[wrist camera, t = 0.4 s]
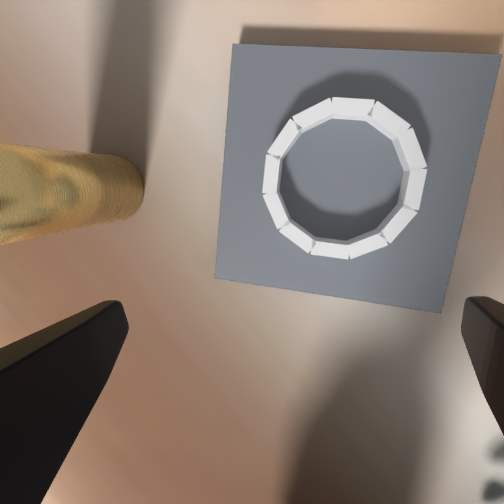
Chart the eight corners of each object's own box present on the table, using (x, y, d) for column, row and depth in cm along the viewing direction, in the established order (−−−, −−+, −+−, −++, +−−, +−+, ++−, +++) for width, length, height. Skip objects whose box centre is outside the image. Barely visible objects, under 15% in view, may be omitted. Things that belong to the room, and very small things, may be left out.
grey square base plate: (434, 306, 22) (450, 323, 19) (219, 273, 24) (207, 285, 21) (490, 62, 19) (519, 43, 16) (237, 51, 21) (225, 32, 18)
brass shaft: (143, 223, 24) (-44, 271, 12) (86, 215, 25) (-147, 253, 12) (144, 158, 23) (-58, 135, 11) (86, 152, 24) (-169, 125, 11)
